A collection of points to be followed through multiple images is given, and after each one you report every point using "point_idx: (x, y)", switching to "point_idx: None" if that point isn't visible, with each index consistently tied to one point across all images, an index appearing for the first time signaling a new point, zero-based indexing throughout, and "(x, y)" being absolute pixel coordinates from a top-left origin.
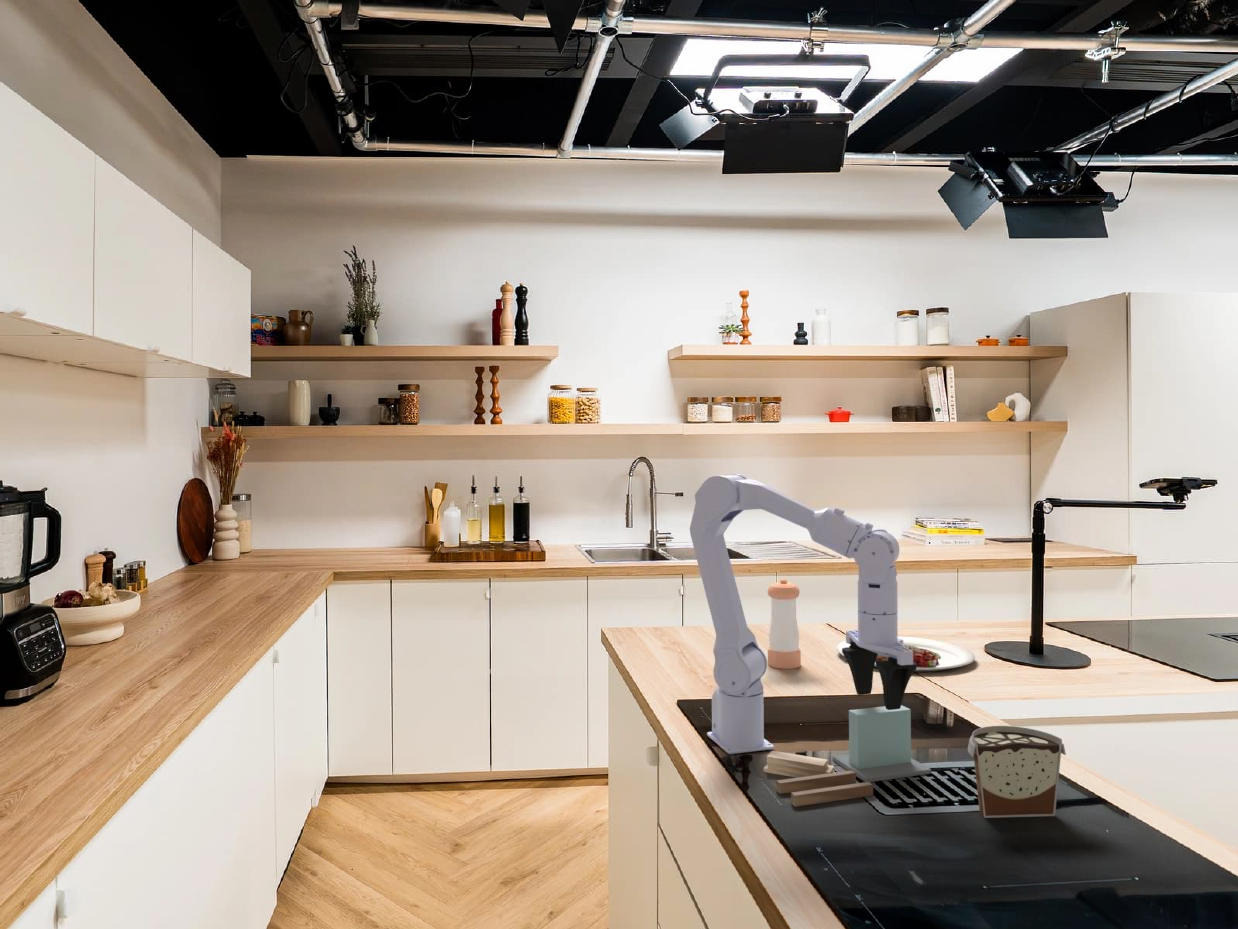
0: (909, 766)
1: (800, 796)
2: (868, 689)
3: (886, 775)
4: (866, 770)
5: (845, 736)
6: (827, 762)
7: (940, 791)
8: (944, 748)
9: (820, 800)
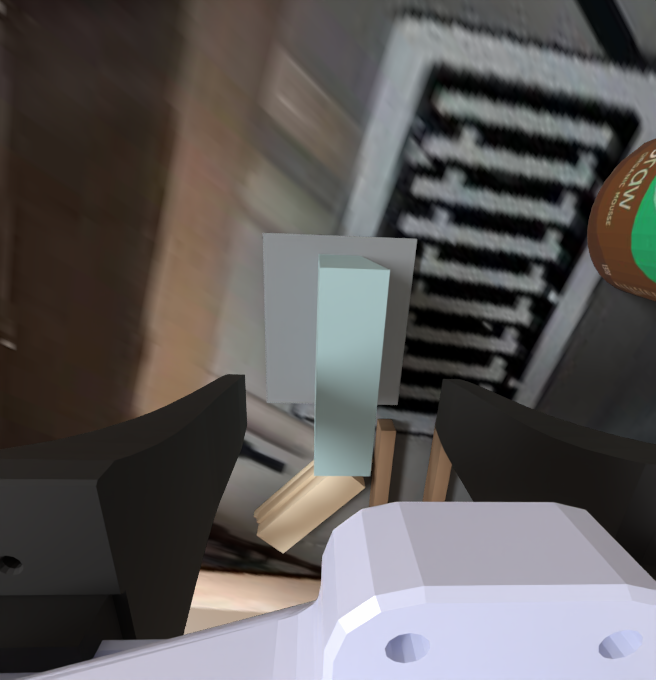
0: None
1: None
2: (239, 393)
3: (402, 358)
4: None
5: (122, 285)
6: None
7: (496, 286)
8: (278, 56)
9: None
